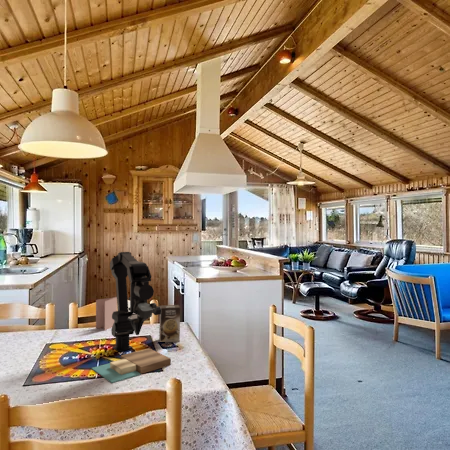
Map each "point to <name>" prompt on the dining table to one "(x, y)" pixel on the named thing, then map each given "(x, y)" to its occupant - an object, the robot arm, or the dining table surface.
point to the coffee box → (169, 323)
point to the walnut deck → (147, 360)
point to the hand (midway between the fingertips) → (137, 334)
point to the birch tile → (123, 366)
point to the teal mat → (113, 373)
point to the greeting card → (105, 312)
